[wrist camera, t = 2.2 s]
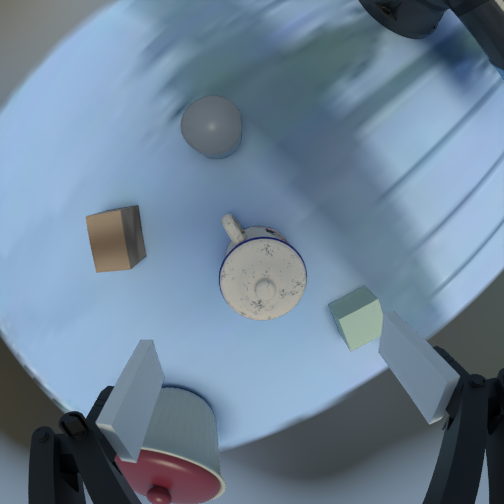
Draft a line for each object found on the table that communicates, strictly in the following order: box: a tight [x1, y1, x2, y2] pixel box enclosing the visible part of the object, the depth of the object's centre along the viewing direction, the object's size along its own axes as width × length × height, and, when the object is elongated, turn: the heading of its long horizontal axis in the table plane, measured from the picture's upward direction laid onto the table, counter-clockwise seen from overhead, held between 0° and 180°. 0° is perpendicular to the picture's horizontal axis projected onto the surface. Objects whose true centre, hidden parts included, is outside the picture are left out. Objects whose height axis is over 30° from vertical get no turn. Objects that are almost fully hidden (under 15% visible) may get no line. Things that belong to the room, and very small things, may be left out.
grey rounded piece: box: [181, 96, 242, 159], centre depth 29 cm, size 6×6×8 cm
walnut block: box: [86, 205, 146, 273], centre depth 33 cm, size 7×5×6 cm
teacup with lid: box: [219, 214, 307, 320], centre depth 31 cm, size 12×9×12 cm
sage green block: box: [329, 286, 383, 351], centre depth 37 cm, size 6×6×5 cm
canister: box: [114, 387, 226, 504], centre depth 33 cm, size 18×18×21 cm
